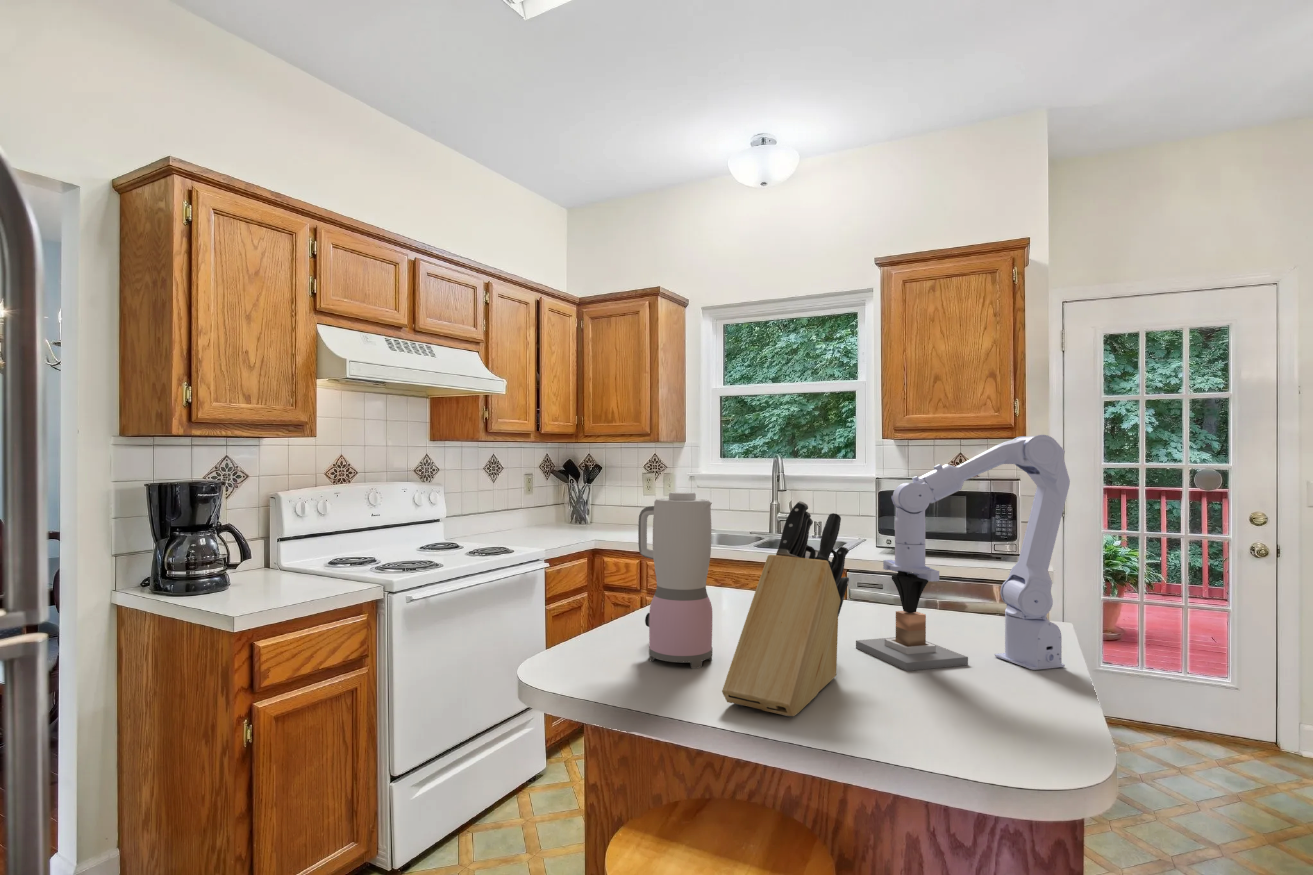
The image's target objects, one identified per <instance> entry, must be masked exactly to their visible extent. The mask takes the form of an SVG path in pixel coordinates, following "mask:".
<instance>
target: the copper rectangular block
mask: <svg viewBox="0 0 1313 875" xmlns="http://www.w3.org/2000/svg"><path fill="white" fill-rule="evenodd" d="M926 616H927V615H926V614H925V613H922V612H919V611H916V612H910V613H907V612H904V611H903V610H897V611H895V637H896V642H897V643H899V644H902V645H904V646H907V647H910V646H922V645H926V641H927V639H926V635H927V625H926V624H927V623H926V622H927V619H926V618H927V617H926Z"/></svg>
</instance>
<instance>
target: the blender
mask: <svg viewBox="0 0 1313 875" xmlns="http://www.w3.org/2000/svg"><path fill="white" fill-rule="evenodd" d="M696 495H697V494H696V493H695V492H692V491H691V492H690V491H688V492H687V491H672V492H669V493H668V497H667V498H665V497H662V498H656V499H655V500H654V501H653V502H654V504H653V505H652V506H651V505H649V506H645V507H644V508H643V509H642V510H641V511H640V512H639V516H638V524H637V526H638V527H637V530H638V536H637V537H638V538H637V539H638V540H637V541H638V551H639V553H640V555H641V556H642V557H643V558H644V557H645V558H646V559H647V558H648V559H650V560H653V564H654V574H655V578H656V588H655V589H656V590H655V591H654V592H655V593H654V595H653V597H652V599H651V602H650V606H649V612H647V613H646V616H645V619H644V623H645V626H647V628H648V630H649V633H648V638H649V641H648V642H649V645H648V658H649V661H650V662H654V661H655V659H657V660H660V661H663V662H664V661H665V662H669V663H690V668H691V669H699V668H701V667H703V666H702V665H703V661H705V660H708V661H712V659H713V605H712V601H711V599H710V597H709V594H708V591H707V578H708V573H709V568H710V567H709V566H710V562H711V552H712V510H711V509H712V508H711V507H712V504H713V502H711V501H710V500H709V499H704V498H696ZM651 515H652V516H653V517H652V518H653V519H652V549H650V548H648V517H649V516H651Z"/></svg>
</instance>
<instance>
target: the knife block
mask: <svg viewBox="0 0 1313 875" xmlns="http://www.w3.org/2000/svg"><path fill="white" fill-rule="evenodd" d="M791 508H792V509H791V510H790V512H789V514H788V516H787V517H786V520H785V523H784V524H783V525H784V526H783V527H782V528H783V530H782V533H781V537H780V541H779V545H778V548H777V550H776V553H775V554H769V555H768V556H767V557H766V559H765V563H764V566H763V569H762V571H761V575H760V576H759V580H758V583H757V586H756V588H755V591H754V595H753V597H752V601H751V604H750V607H749V609H748V612H747V615H746V619H745V621H744V623H743V627H742V630H741V633H740V636H739V640H738V642H737V646H736V648H735V652H734V654H733V657H732V660H731V663H730V667H729V669H728V673H727V674H726V678H725V680H724V684H723V687H722V690H721V692H722V695H723V697H724V698H725V701H726V702H727V703H730V704H735V705H738V706H746V707H749V708H753V709H758V710H761V711H765V712H770V713H774V714H778V715H781V716H785V717H795V716H796V715H797V714H799V713H800V712H801V711H802V710H803V709H805V707H806V706H807V705H808V704H809V703H811V701H812V700H813V699H814V698H816V697H817V696H818V694H819V692H821V691H822V690H823V689H824V688H825V687H826V686H827V685H828V684H829V683H830V682H831V681H832V680H833V679H834V678H835V677H836V676H837V667H838V666H837V665H838V664H837V662H838V660H837V659H838V635H839V634H838V632H839V631H838V630H839V616H840V612H841V610H842V607H843V603H844V600H845V596H846V592H847V588H848V586H849V581H850V578H849V577H847V576H843V573H844V569H845V563H846V561H845V560H846V557H847V554H848V553H849V549H848V547H845V546H843V545H841V546H839V547H838V549H837V550H835V549H834V546H835V545H836V543H837V542H836V541H837V540H838V537H839V534H840V533H839V532H840V528H841V527H840V526H841V521H842V518H841V515H839V514H838V513H830V514H828V517H827V519H826V522H825V524H824V527H823V530H822V532H821V537H820V542H819V549H818V550H819V551H818V555H817V557H815V555H816V552H815V550H816V549H815V548H814V547H813V546H810V545H809V544H808V542H809V541H808V540H809V535H810V529H811V526H812V525H813V524H814V520H813V519H812V518H811V516H812V515H811V514H810V512H809V511H807V510H808V509H809V505H808V504H807V503H806V502H804V501H801V500H800V501H798V502H796V504H795V505H794V506H793V507H791ZM806 551H808V552H810V556H809V559H808V558H805V555H806ZM831 554H832V558H831V560H830V556H831Z"/></svg>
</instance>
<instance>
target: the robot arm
mask: <svg viewBox="0 0 1313 875" xmlns="http://www.w3.org/2000/svg"><path fill="white" fill-rule="evenodd" d="M1065 452H1066V450H1065V449H1064V448H1063V447H1062V446H1061V445H1060V443H1059V442H1057V440H1056V439H1055V438H1054V437H1053V436H1050V435H1047V434H1038V435H1029V436H1025V435H1021V436H1017V437H1015V438H1013V439H1012V440H1010V439H1009V440H1006V441H1004V442H1001V443H998V444H996V445H994V446H993V447H991V448H989V449H986V450H985V451H983V452H981V453H979V454H977V455H975V456H973V457H971V458H970V459H968V460H965V462H962V463H960V464H958V465H956V466H955V465H951V464H947V463H946V464H944V465H942V464H939V463H938V464H936V465H934V466H933V469H932V470H930V471H928V472H927V473H924V474H923V475H920V476H917V475H916V476H915V475H914V476H913V477H912V478H911V480H912V482H903V483H901V484H899V485H898V486H896V487H895V489H894V490H893V493H892V495H891V501H892V504H893V506H895V519H894V560H893V559H883V560H882V564H883V565H882V566H883V567H882V569H883V570H885V571H892V572H895V573H896V574H892V575H891V580H892V581H893V583H894V586H895V587H896V589H897V592H898V595H899V598H900V603H901V607H902V611H904V612H907V613H910V612H917V610H918V607H919V603H920V599H921V596H922V594H923V592H924V589H925V588H926V586H927V585H928V583H929V582H939V581H940V570H936V569H934V568H931V567H929V566H927V565H926V510H927V509H928V507H929V505H930V504H935V503H936V502H938V501H940V500H943V499H944V498H947V497H949V496H951V495H953V494H955V493H958V492H960V491H961V490H962V488H963V486H964V483H965V482H966V481H967V480H969V479H971V478H974V477H976V476H979V475H981V474H983V473H986V472H988V471H990V470H992V469H996V468H997V467H999V466H1002V465H1015V466H1016V467H1017V468H1019V469H1020V470H1022V471H1024V472H1025V473H1026V474H1027V475H1028V476H1029V477H1030V479H1031V480H1032V482H1034V484H1035V486H1036V490H1035V493H1034V496H1033V502H1032V503H1031V510H1030V513H1029V517H1028V520H1027V525H1026V529H1025V532H1024V537H1023V540H1022V545H1021V549H1020V553H1019V556H1018V559H1017V560H1018V561H1017V562H1016V563H1015V565H1013V567H1012V568H1011V569H1010V571H1009V574H1008V577H1007V578H1006V580H1005V581H1003V583H1002V584H1001V586H1000V590H999V594H1000V597H1001V600H1002V602H1004V604H1005V605H1006V608H1005V610H1004V612H1005V613H1004V652H1001V653H994V657H996V658H999V659H1002V660H1004V661H1007V662H1009V663H1012V664H1016V665H1018V666H1021V667H1024V668H1027V669H1029V670H1032V671H1035V670H1036V671H1038V670H1046V669H1048V670H1049V669H1056V668H1064V667H1066V666H1065V665H1066V664H1065V663H1062V657H1063V656H1062V652H1063V651H1062V648H1063V647H1062V646H1063V645H1062V632H1061V631H1062V630H1061V629H1060V627H1059V626H1058V625H1057V624H1056V623H1054V622H1052V621H1050V620H1049V619H1048V614H1049V612H1050V611H1051V610H1052V607H1053V603H1054V600H1053V595H1052V587H1053V581H1052V578H1051V575H1050V573H1049V568H1050V563H1051V560H1052V556H1053V552H1054V548H1055V544H1056V540H1057V536H1058V532H1059V527H1060V525H1061V520H1062V517H1063V512H1064V510H1065V505H1066V501H1067V500H1066V499H1067V496H1068V493H1069V489H1070V482H1071V481H1070V480H1071V479H1070V476H1069V472H1068V469H1067V466H1066V463H1065Z"/></svg>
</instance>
